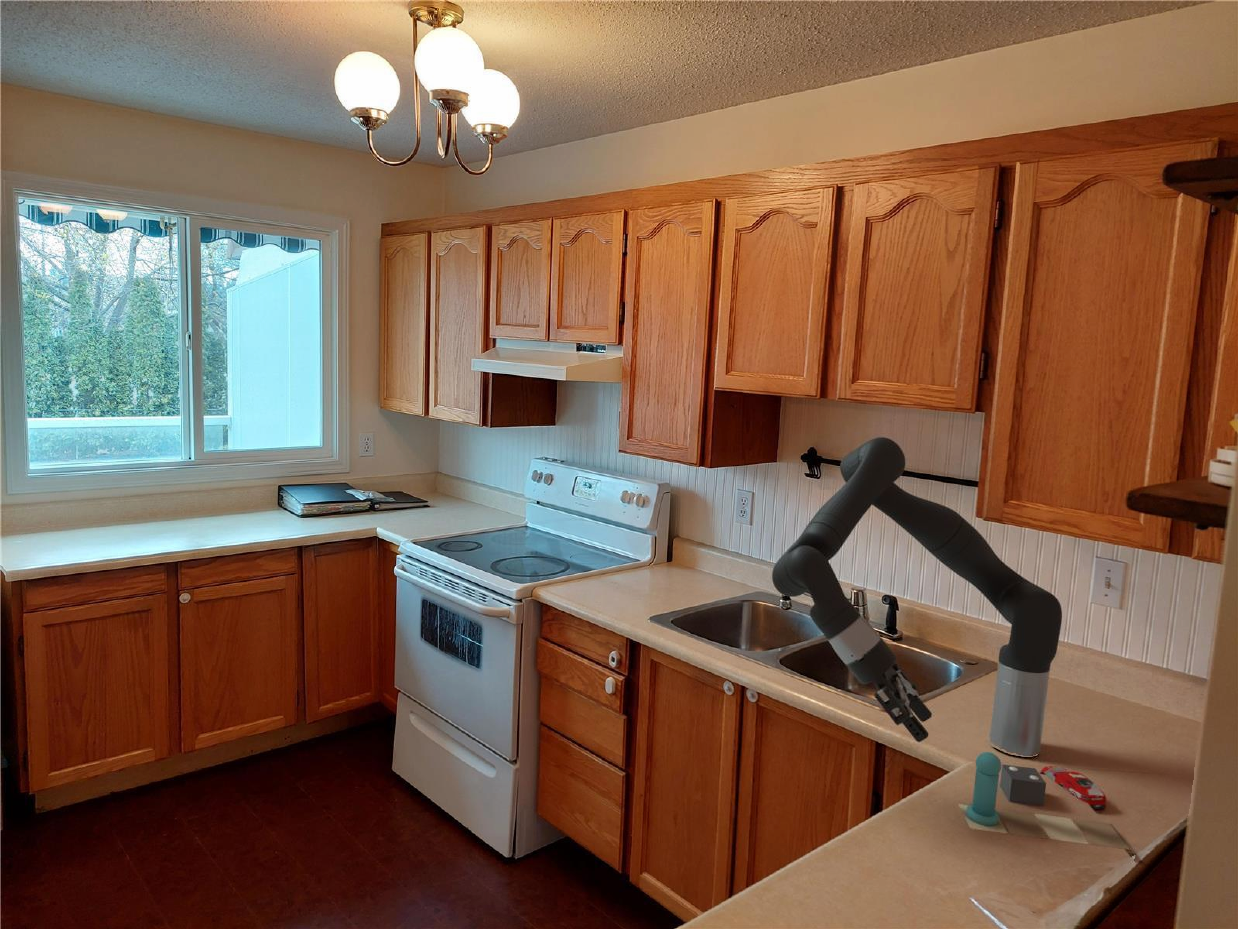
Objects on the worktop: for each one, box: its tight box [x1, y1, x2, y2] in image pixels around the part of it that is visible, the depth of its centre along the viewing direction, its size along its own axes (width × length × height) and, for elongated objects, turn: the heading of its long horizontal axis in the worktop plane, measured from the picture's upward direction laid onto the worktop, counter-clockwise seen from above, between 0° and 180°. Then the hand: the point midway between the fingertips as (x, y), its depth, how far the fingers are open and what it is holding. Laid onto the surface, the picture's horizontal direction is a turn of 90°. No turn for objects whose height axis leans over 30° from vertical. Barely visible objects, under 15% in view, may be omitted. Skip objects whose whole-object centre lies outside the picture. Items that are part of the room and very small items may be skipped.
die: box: [999, 763, 1047, 807], centre depth 146 cm, size 6×6×6 cm
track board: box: [958, 803, 1137, 858], centre depth 137 cm, size 9×25×2 cm, turn 81°
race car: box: [1039, 765, 1107, 810], centre depth 152 cm, size 13×5×4 cm, turn 9°
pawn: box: [966, 751, 1002, 826], centre depth 137 cm, size 5×5×11 cm
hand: (925, 728), depth 141 cm, fingers open, 8 cm apart
